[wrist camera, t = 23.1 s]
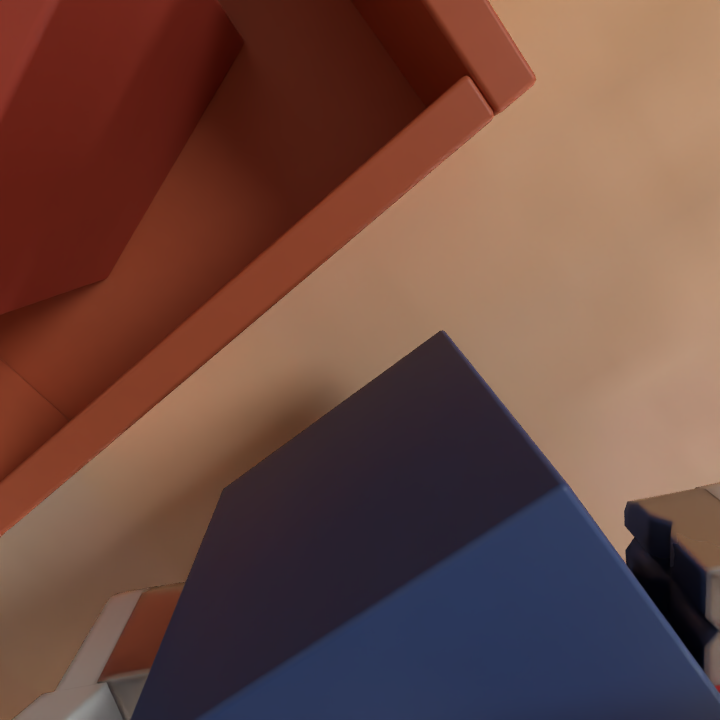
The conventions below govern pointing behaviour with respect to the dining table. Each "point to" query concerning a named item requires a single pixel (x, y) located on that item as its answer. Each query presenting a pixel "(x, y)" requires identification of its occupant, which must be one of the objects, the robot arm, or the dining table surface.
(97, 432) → the terracotta bin
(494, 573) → the blue block
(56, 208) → the red block
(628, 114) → the dining table surface
